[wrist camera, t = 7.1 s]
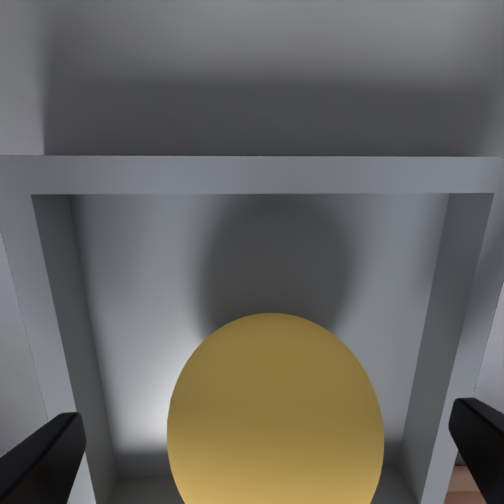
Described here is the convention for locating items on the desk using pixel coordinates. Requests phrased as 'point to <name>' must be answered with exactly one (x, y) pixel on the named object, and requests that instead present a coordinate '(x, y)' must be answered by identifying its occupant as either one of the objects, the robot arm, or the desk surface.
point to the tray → (251, 290)
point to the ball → (274, 418)
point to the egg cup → (463, 488)
